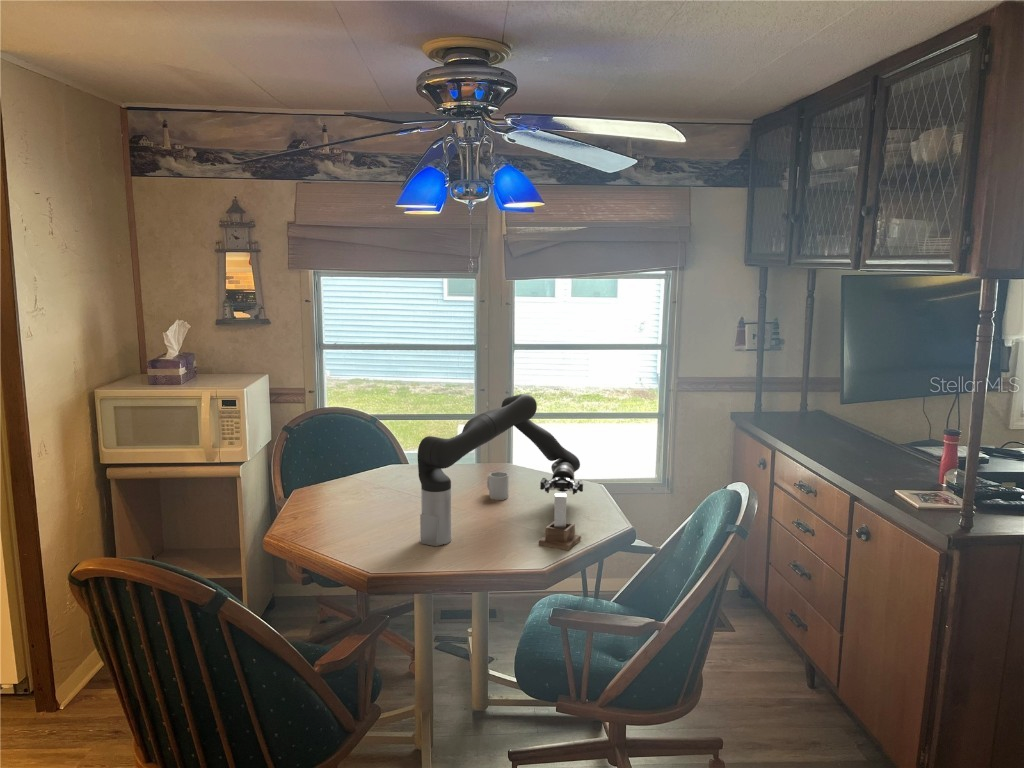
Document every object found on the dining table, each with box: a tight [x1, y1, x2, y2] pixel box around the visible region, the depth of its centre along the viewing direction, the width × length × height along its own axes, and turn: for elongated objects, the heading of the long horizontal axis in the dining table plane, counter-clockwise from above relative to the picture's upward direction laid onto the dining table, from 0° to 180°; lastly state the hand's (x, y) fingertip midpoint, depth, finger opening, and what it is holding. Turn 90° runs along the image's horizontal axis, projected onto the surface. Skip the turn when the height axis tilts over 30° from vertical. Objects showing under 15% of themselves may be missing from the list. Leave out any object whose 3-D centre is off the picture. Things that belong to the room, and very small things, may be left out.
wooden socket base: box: [538, 520, 582, 551], centre depth 236 cm, size 10×10×6 cm
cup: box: [486, 471, 510, 501], centre depth 282 cm, size 7×10×9 cm
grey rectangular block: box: [553, 492, 567, 530], centre depth 235 cm, size 4×4×14 cm
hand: (560, 490), depth 245 cm, fingers open, 8 cm apart
